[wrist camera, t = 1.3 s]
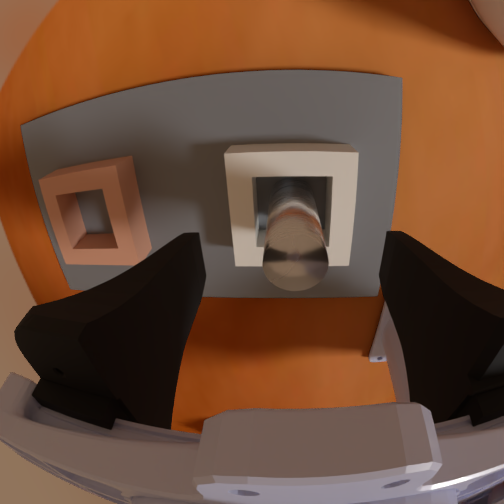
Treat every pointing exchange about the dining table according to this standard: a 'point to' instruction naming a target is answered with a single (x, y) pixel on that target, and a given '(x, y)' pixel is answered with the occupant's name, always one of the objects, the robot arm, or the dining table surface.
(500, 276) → the dining table surface
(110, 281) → the robot arm
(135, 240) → the socket
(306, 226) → the lock pin
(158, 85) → the board
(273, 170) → the pin mount
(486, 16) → the lidded bowl
